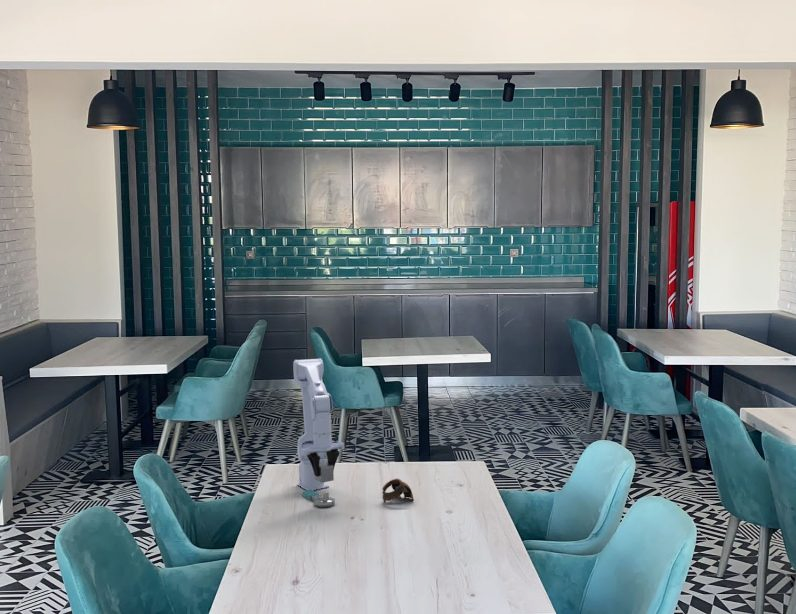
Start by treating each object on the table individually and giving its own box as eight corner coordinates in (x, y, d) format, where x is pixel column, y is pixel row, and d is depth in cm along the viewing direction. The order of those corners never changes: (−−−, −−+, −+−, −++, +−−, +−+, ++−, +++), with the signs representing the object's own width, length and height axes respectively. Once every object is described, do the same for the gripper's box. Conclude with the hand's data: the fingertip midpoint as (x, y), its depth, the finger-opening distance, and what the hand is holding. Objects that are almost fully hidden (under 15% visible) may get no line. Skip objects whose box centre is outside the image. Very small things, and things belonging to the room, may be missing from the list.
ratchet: (298, 496, 278) (297, 484, 278) (315, 493, 281) (315, 481, 281) (320, 509, 264) (319, 496, 264) (338, 505, 268) (337, 493, 267)
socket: (315, 479, 269) (314, 464, 268) (327, 477, 271) (326, 462, 270) (321, 482, 265) (320, 467, 264) (333, 480, 267) (333, 465, 267)
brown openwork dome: (418, 506, 267) (406, 486, 264) (391, 519, 267) (380, 500, 264) (412, 486, 278) (401, 467, 275) (387, 499, 278) (375, 480, 275)
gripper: (307, 438, 260) (308, 481, 261) (348, 431, 267) (349, 473, 268) (297, 434, 266) (299, 476, 267) (338, 427, 273) (339, 468, 274)
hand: (323, 474), depth 268 cm, fingers closed on socket, 4 cm apart
